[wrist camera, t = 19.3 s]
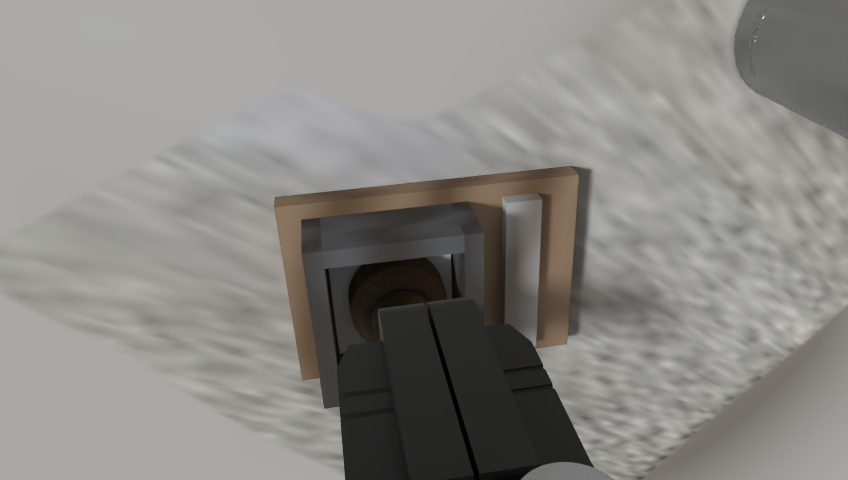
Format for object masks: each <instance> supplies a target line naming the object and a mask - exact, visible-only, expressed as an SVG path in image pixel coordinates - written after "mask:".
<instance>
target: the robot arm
mask: <svg viewBox="0 0 848 480" xmlns="http://www.w3.org/2000/svg"><path fill="white" fill-rule="evenodd" d="M734 53H735V60H736V65H737V68H738V71H739V73H740V76H741V77H742V79H743V80H744V81H745V83H746V84H747V85H748V86H749V87H750V88H751V89H752V90H754V91H755V92H756V93H758V94H760V95H762V96H764V97H766V98H768V99H770V100H772V101H774V102H776V103H778V104H780V105H782V106H784V107H786V108H788V109H790V110H792V111H793V112H795V113H797V114H799V115H801V116H803V117H805V118H807V119H809V120H811V121H813V122H815V123H817V124H819V125H821V126H823V127H825V128H827V129H829V130H831V131H833V132H835V133H837V134H839V135H841V136H843V137H845V138H848V0H749V2H748V3H747V5H746V7H745V9H744V11H743V13H742V16H741V18H740V20H739V24H738V27H737V31H736V35H735V47H734ZM378 321H379V331H380V341H376V342H369V343H361V344H354V345H348V347H347V349H346V351H345V353H344V355H343V357H342V359H341V361H340V363H339V365H338V367H337V381H338V393H339V406H340V417H341V431H342V444H343V456H344V469H345V480H614V479H613V478H611V477H610V476H609V475H607V474H605V473H604V472H602V471H600V470H598V469H595V468H594V466H593V465H592V463H591V461H590V459H589V457H588V455H587V453H586V451H585V449H584V447H583V445H582V443H581V441H580V439H579V437H578V435H577V433H576V431H575V429H574V427H573V425H572V423H571V421H570V419H569V417H568V415H567V413H566V411H565V409H564V407H563V405H562V402H561V400H560V398H559V396H558V394H557V392H556V390H555V389H553V386H552V382H551V380H550V378H549V376H548V374H547V372H546V370H545V369H543V364H542V362H541V360H540V358H539V356H538V354H537V352H536V350H535V348H534V346H533V344H532V342H531V341H530V340H529V339H528V338H526V337H525V336H524V335H523V334H521V333H520V332H519V331H518V330H516V329H515V328H514V327H513V326H511V325H510V324H502V325H495V326H487V327H485V326H484V323H483V321H482V318H481V316H480V313H479V311H478V309H477V306H476V304H475V301H474V299H473V298H472V297H465V298H457V299H450V300H442V301H434V302H427V303H426V308H425V305H424V304H423V303H420V304H412V305H404V306H396V307H388V308H381V309H378Z"/></svg>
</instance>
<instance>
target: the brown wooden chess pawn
mask: <svg viewBox="0 0 848 480" xmlns="http://www.w3.org/2000/svg"><path fill="white" fill-rule="evenodd" d="M348 299H349V307H350V313H351V319H352V322H353V325H354V327H355V329H356V330H357V332H358V333H359V334H360V336H361V337H362V338H363V339H365V340H366V341H367V342H376V341H380V331H379V321H378V309H381V308H388V307H396V306H404V305H412V304H420V303H423V304H424V305H425V308H426V303H427V302H434V301H442V300H448V299H447V294H446V290H445V287H444V285H443V282H442V279H441V276H440V274H439V272H438V270H437V269H436V267H435V266H434V265H433V264H432V263H431V262H430V261H429V260H428V259H427V258H425V257H422V258H414V259H405V260H397V261H388V262H380V263H372V264H363V265H362V266H361V267H360V268H359V269H358V270H357V271H356V273H355V274H354V276H353V278H352V280H351V282H350V286H349V291H348Z"/></svg>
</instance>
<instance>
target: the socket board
mask: <svg viewBox="0 0 848 480" xmlns="http://www.w3.org/2000/svg"><path fill="white" fill-rule="evenodd" d="M578 182H579V174H578V173H577V172H576V171H575V170H574V169H573V168H572V166H569V167H559V168H550V169H540V170H531V171H521V172H512V173H502V174H493V175H483V176H474V177H464V178H455V179H446V180H436V181H427V182H417V183H408V184H398V185H389V186H379V187H370V188H360V189H351V190H341V191H332V192H323V193H313V194H304V195H294V196H285V197H275V202H274V210H275V216H276V222H277V228H278V234H279V240H280V246H281V252H282V259H283V265H284V271H285V277H286V283H287V289H288V295H289V301H290V307H291V313H292V320H293V326H294V332H295V338H296V344H297V350H298V356H299V362H300V368H301V374H302V380H309V379H316V378H320V382H321V389H322V396H323V402H324V409H325V408H332V407H339V393H338V381H337V367H338V365H339V363H340V361H341V359H342V357H343V355H344V353H345V351H346V349H347V347H348V345H354V344H361V343H369V342H367V341H366V340H365V339H363V338H362V337H361V336H360V334H359V333H358V332H357V330H356V329H355V327H354V325H353V322H352V319H351V313H350V307H349V299H348V291H349V286H350V282H351V280H352V278H353V276H354V274H355V273H356V271H357V270H358V269H359V268H360V267H361V266H362V265H363V264H372V263H380V262H388V261H397V260H405V259H414V258H422V257H425V258H427V259H428V260H429V261H430V262H431V263H432V264H433V265H434V266H435V267H436V269H437V270H438V272H439V274H440V276H441V279H442V282H443V285H444V287H445V290H446V294H447V299H448V300H450V299H457V298H465V297H472V298H473V299H474V301H475V304H476V306H477V309H478V311H479V313H480V316H481V318H482V321H483V323H484V326H485V327H487V326H495V325H502V324H510V325H511V326H513V327H514V328H515V329H516V330H518V331H519V332H520V333H521V334H523V335H524V336H525V337H526V338H528V339H529V340H530V341H531V342H532V344H533V346H534V348H542V347H549V346H556V345H563V344H567V338H568V324H569V310H570V296H571V281H572V267H573V253H574V239H575V225H576V210H577V196H578Z"/></svg>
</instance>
